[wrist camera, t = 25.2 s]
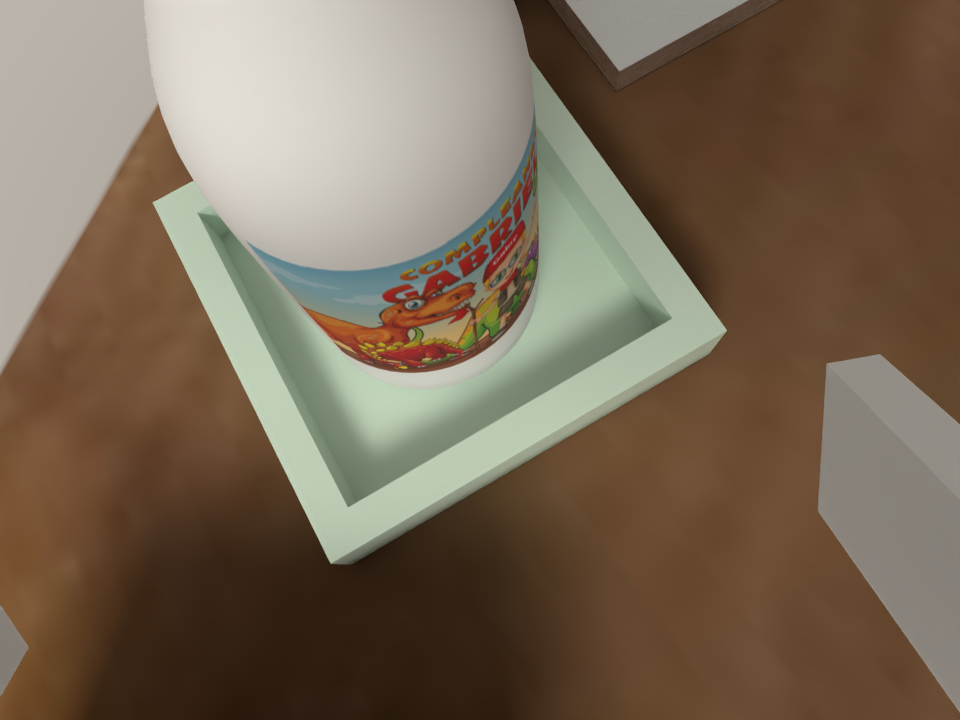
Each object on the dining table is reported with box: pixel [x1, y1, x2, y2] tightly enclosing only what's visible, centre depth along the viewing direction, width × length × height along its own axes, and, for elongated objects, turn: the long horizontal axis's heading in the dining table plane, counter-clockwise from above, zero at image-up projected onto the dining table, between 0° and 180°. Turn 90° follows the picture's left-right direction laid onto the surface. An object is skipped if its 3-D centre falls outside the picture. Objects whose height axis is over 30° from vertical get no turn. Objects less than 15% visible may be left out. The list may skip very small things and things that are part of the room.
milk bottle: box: [143, 0, 539, 389], centre depth 17 cm, size 8×8×20 cm
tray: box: [153, 57, 727, 565], centre depth 26 cm, size 14×14×3 cm
